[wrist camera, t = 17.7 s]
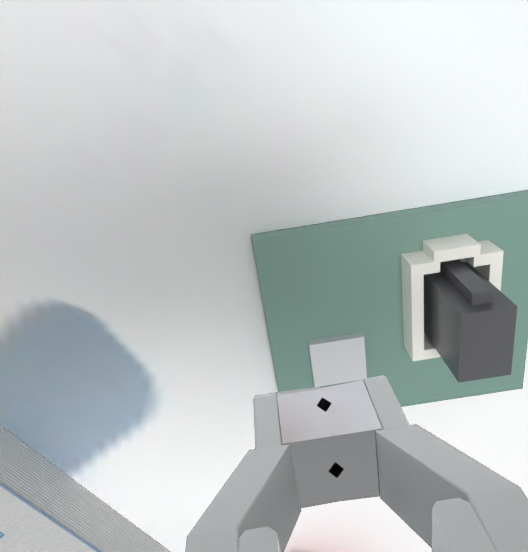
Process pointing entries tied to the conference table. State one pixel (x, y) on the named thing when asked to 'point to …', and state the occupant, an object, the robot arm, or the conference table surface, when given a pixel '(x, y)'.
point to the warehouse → (56, 509)
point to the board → (387, 294)
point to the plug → (469, 322)
